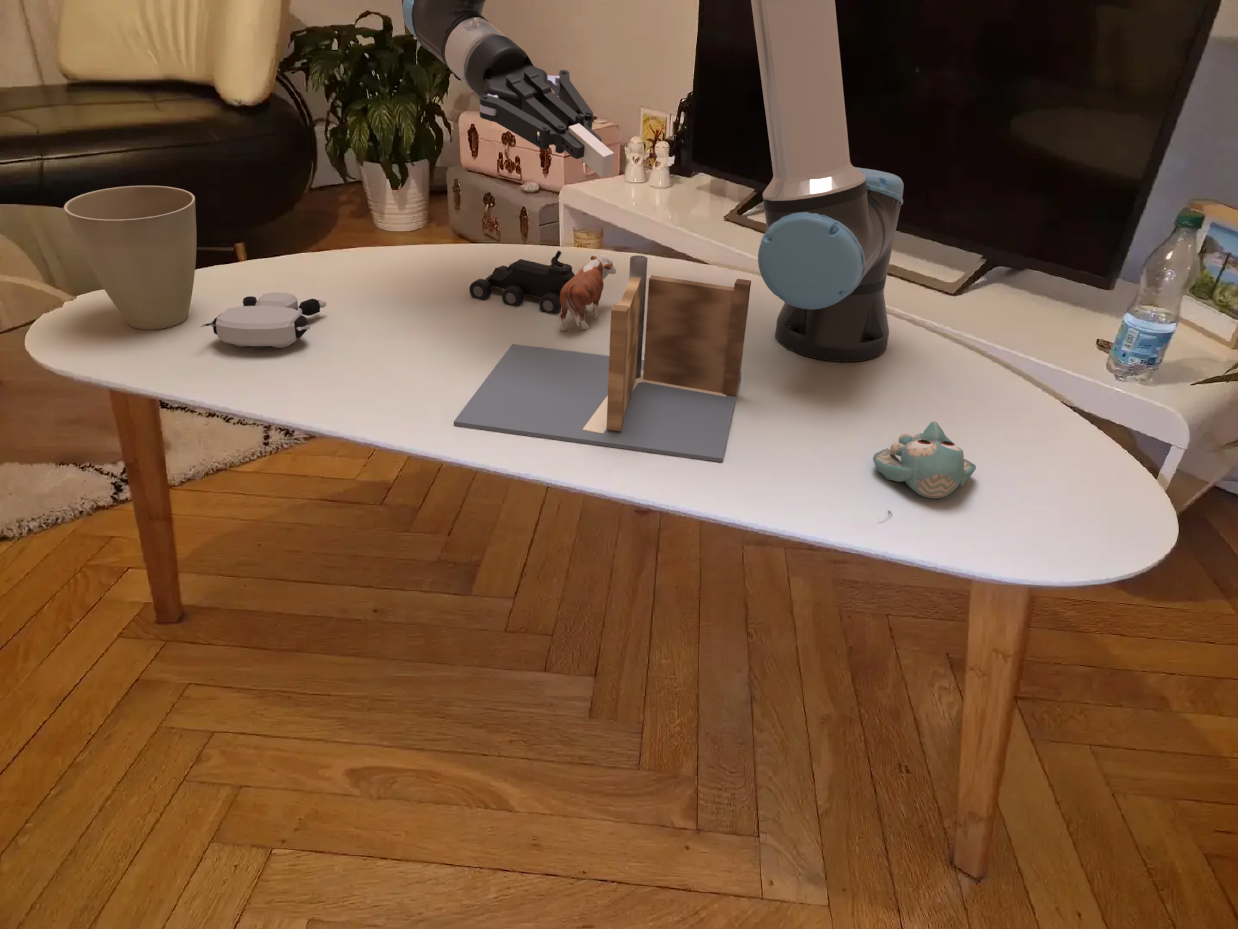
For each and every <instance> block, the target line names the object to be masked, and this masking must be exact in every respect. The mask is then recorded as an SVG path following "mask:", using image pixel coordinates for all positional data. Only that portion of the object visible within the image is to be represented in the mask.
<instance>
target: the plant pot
mask: <svg viewBox="0 0 1238 929" xmlns="http://www.w3.org/2000/svg"><path fill="white" fill-rule="evenodd" d="M63 210H64V213H65V215H66V217H67V220H68V222H69V224H70V226H71V228H72V230H73V233H74V235H75V238H76V240H77V242H78V244H79V247H80V249H81V250H82V252H83V254H84V256H85V259H86V260H87V262H88V264H89V265H90V267H91V269H92V271H93V273H94V275H95V276H96V278H97V280H98V282H99V283H100V285H101V286H102V288H103V289H104V291H105V292H106V294H107V296H108V298H109V299H110V300H111V301H112V303H113V304H114V306H115V308H116V309H117V310H118V311H119V313H120V314H121V316H122V317H123V318H124V320H125V321H126V322H127V323H128V325H129V326H131V327H132V328H134V327H135V329H139V330H145V329H146V330H147V331H149V330H150V331H151V330H161V329H168V328H171V327H174V325H175V326H177V325H179V324H182V323H183V322H185V321H186V320H187V319H188V316H189V312H190V308H191V307H190V306H191V302H192V295H193V290H194V284H195V283H194V281H195V274H196V265H197V264H196V262H197V218H196V217H197V216H196V214H197V212H196V196H195V195H194V194H193V193H192V192H190V191H188V190H185V189H183V188H177V187H172V186H163V185H127V186H117V187H116V186H115V187H111V188H110V187H109V188H103V189H98V190H94V191H93V190H92V191H90V192H86V193H82V194H80V195H77V196H75V197H73V198H70V199H69V200H68V201H66V202H65V204H64V205H63ZM167 327H168V328H167Z"/></svg>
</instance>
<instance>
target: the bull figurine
mask: <svg viewBox="0 0 1238 929" xmlns="http://www.w3.org/2000/svg"><path fill="white" fill-rule="evenodd" d="M616 273H617V267H615V266H614V264H613V260H611V258H609V257H608V256H607V255H605V254H600V255H599V256H598V257H597V256H595V255H591V256H590V261H588V263H586V265H585V266H584V267H581V268H580V270H579V271H578V272H577V273H576V274H575V276H574V277H573V278H572V279H571V280H569V281H568V282H567V283H566V284H565V285H564V286H563V288H562V289H561V292H560V303H561V309H560V311H561V313H560V314H559V318H560V325H559V331H561V332H567V330H568V329H567V326H566V319H567V314H568V312H569V314H570V315H571V316H573V318H574V321H575V324H576V325H577V326H578V327H580V329H582V330H583V329H584V330H585V331H587V330H589V329H590V327H589V325H588V324H587V322H586V320H585V313H588V312H589V309H588V306H589V305H592V310H591V313H590V316H591V317H592V318H594V319H599V318H600V316H599V313H598V306H599V305H600V304H599V301H600V299H601V297H602V295H603V294H602V293H603V291H604V285H605V284H604V280H605V279H606V277H608V275H616Z"/></svg>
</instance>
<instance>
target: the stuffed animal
mask: <svg viewBox="0 0 1238 929" xmlns="http://www.w3.org/2000/svg"><path fill="white" fill-rule="evenodd" d="M898 457H900V459H899V458H898ZM872 461H873V463H874V465H875V468H876V470H877V471H878V472H879V473H880V474H881V475H882V476H884V477H885V479H886V481H887V480H888V481H895V482H905V484H906V485H907V486H908V487H909V488H910V489H912V491H914V492H915V494H918V495H919V496H921V497H924V498H926V499H928V498H929V499H941V498H945V497H948V496H949V495H951V493H953V491H955V490H956V489H957V488H958V487H959V486H964V485H965V483H966V481H967V480H969V479H970V478H971V477H972V475H973V473H974V472H975V471H976V470H977V469H976V468H977V465H976V464H974V463H973V462H971V461H969V460H968V459H965V458H964V450H963V449H962V448H961V447H959V446H958V445H957V444H955V443H954V442H953V441H952V440H951V439H950V438H949V437H947V435H946V434H945V431H944V430H943V429H942V427H941V426H940V424H939V423H938V422H937V421H931V422H930V423H929V425H927V426H926V428H925V429H924V430H923V432H922V433H921V432H920V433H918V434H915V435H914V436H911V435H909V434H908V433H904V434H900V436H899V438H898V442H894V443H892V444H891V446H890V447H889V448H885V449H882V450H881V451H878V452H876V453H874V455H873V457H872Z"/></svg>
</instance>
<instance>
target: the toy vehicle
mask: <svg viewBox="0 0 1238 929" xmlns="http://www.w3.org/2000/svg"><path fill="white" fill-rule="evenodd" d="M561 255H562V251H560V250H557V251H556V253H555V256H552V258H551V260H550V262H551V263H550V264H549V265H547V264H544V263H539V262H534V261H531V260H526V259H521V258H519V259H518V260H517V261H515V262H512V263H510V264H509V266H507V265H499V266H498V267H495V268H494V270H493V272H492V273H491V274H489V275H488V276H487V277H486V278H485V279H484V278H478V279H476V280H474V281H473V282H472V283H470V285H469V294H470V296H471V298H472V299H476V300H481V301H485V300H486V299H488V298H489V297H491V295H492V292H493V288H497V289H501V290H503V291H502V294H501V299H502V302H503V304H504V305H506V306H510V307H516V308H517V307H519V306H520V305H522V304H523V303H524V300H525V296H526V295H527V296H529V297H535V298H538V299H539V301H538V308H539V309H540V311H541V313H544V314H549V315H555V314H557V313H559V311H561V303H560V292H561V289H562V288H563V286H564V285H565V284H566V283H567V282H568V281H569V280H571V279H572V278H573V277H574V276H575V275H576V274H575V273H574V272H573V266H572V265H571V264H569V263H563V262H560V261H559V258H560V256H561Z"/></svg>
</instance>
